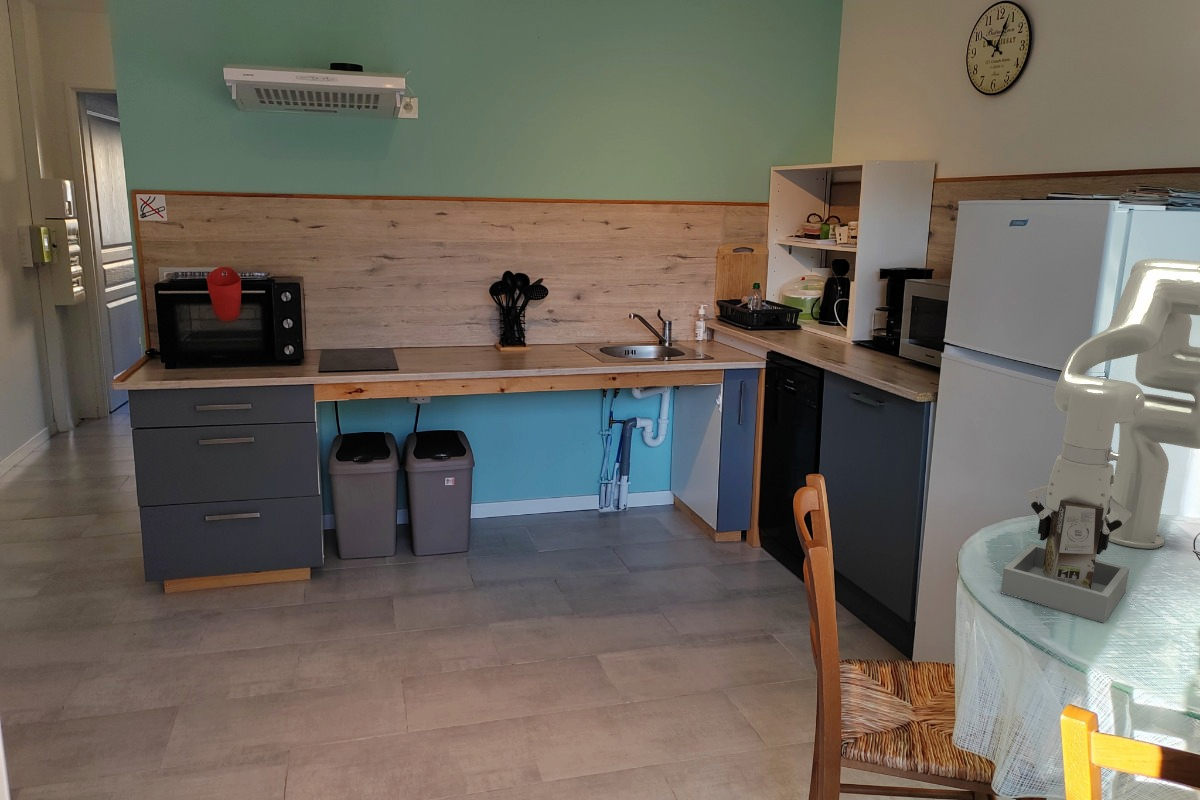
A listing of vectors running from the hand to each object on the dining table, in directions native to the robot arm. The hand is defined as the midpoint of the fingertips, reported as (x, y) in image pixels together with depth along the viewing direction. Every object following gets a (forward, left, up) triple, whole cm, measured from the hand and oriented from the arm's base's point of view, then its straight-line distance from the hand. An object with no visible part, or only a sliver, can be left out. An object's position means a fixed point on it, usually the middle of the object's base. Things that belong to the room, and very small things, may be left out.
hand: (1071, 545), depth 165 cm
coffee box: (0, 0, -7) cm, 7 cm away
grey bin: (0, 0, -9) cm, 9 cm away
